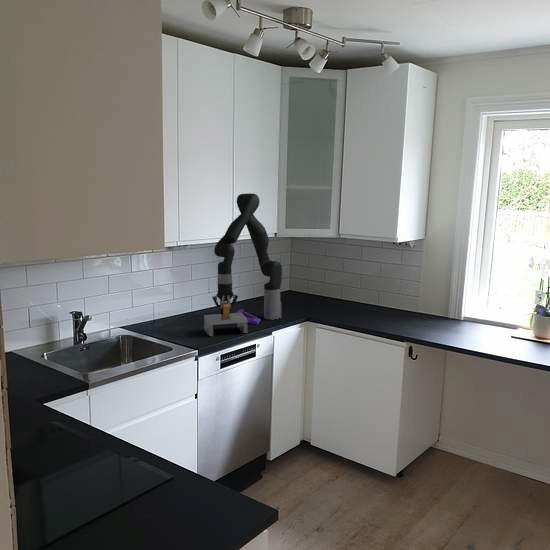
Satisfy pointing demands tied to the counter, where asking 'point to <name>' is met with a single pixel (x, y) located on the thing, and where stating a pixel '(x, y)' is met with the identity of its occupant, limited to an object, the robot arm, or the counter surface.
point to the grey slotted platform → (225, 322)
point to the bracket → (249, 317)
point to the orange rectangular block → (226, 310)
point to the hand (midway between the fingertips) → (225, 314)
